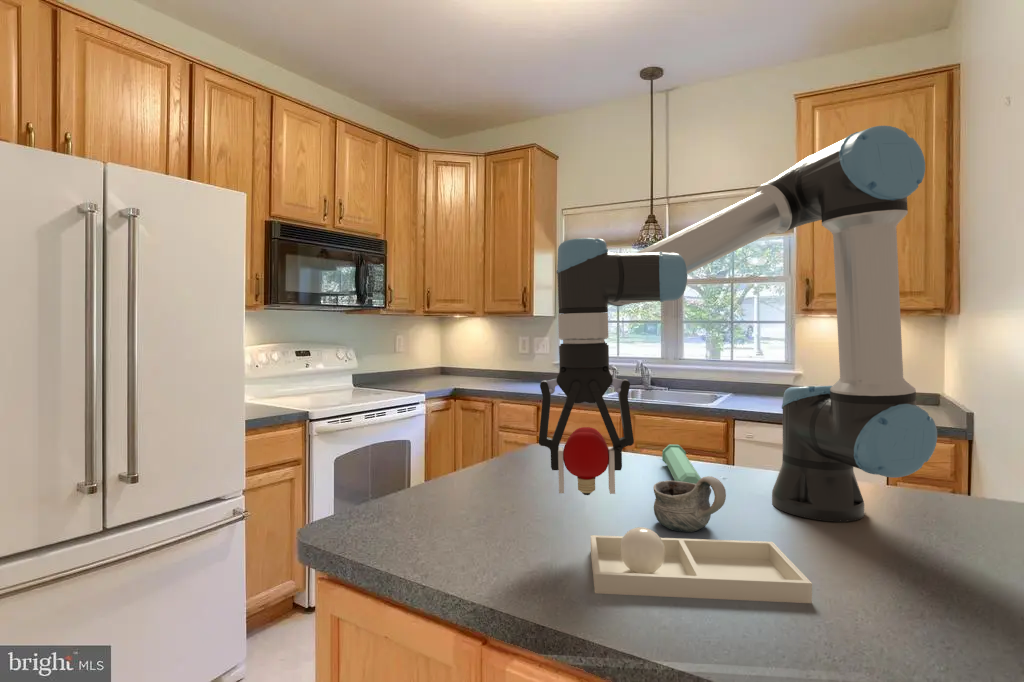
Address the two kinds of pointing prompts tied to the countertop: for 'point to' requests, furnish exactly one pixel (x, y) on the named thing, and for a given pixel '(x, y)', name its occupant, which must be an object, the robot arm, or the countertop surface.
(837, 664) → the countertop surface
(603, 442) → the red rounded piece
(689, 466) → the green octagonal rod
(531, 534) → the countertop surface
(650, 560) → the egg
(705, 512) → the mug
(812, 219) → the robot arm
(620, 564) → the tray
